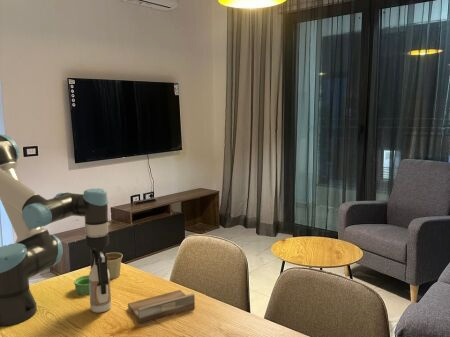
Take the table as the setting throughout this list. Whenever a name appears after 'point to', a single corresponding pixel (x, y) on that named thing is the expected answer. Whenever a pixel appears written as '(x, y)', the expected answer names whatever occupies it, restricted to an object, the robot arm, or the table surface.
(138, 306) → the brown piece
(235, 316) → the table surface
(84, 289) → the ramekin
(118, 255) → the flower pot
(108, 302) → the bath foam
